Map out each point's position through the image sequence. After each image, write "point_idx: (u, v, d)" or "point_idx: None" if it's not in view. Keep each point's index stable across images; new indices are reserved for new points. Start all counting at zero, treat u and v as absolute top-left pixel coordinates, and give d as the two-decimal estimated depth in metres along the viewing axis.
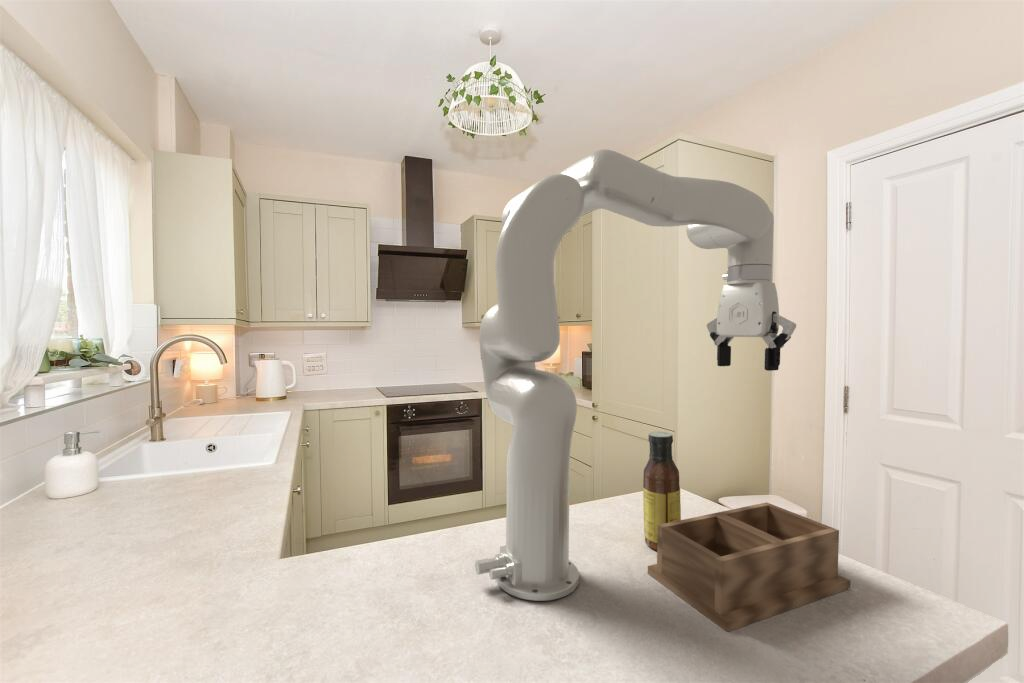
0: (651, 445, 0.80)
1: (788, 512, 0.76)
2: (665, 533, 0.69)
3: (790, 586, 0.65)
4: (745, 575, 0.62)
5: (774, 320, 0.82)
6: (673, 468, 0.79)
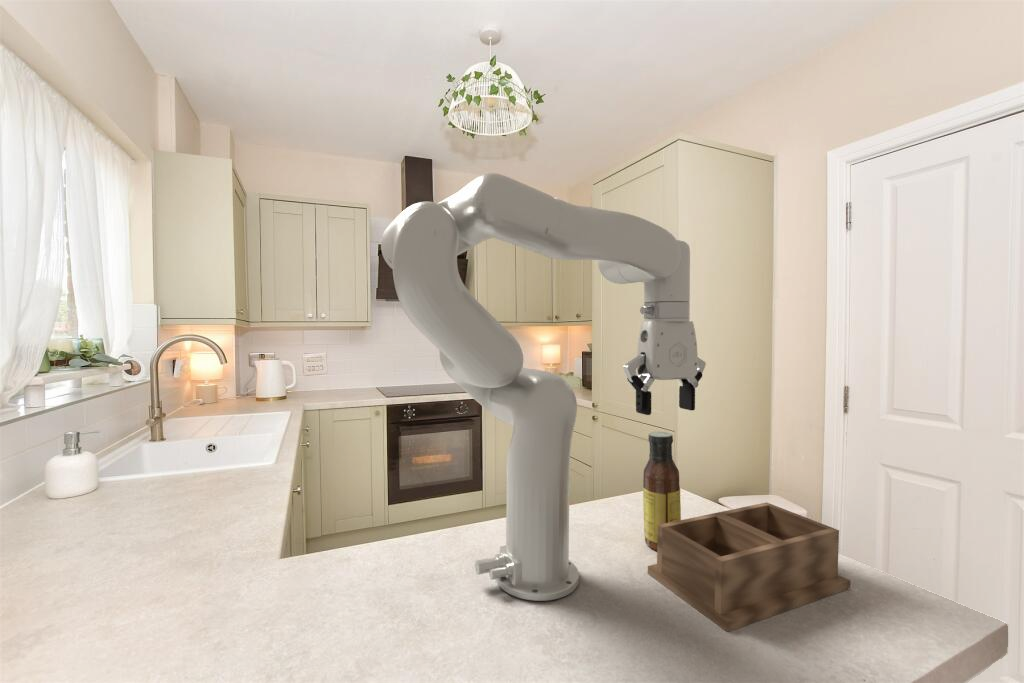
0: (651, 445, 0.81)
1: (788, 512, 0.76)
2: (665, 533, 0.69)
3: (790, 586, 0.65)
4: (745, 575, 0.62)
5: None
6: (673, 468, 0.79)
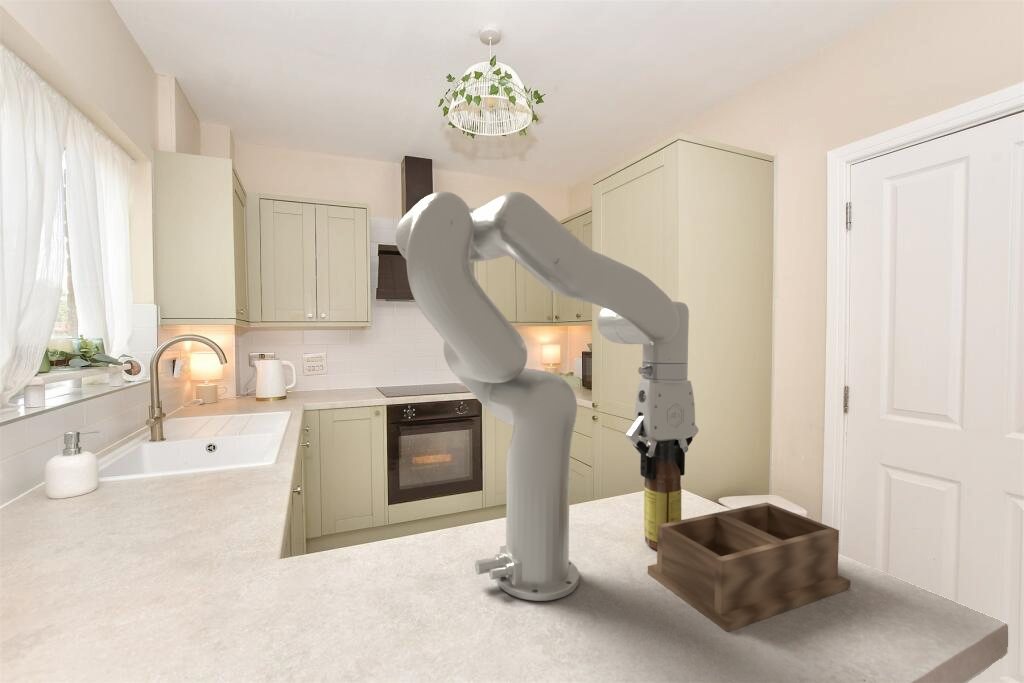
0: None
1: (788, 512, 0.76)
2: (665, 533, 0.69)
3: (790, 586, 0.65)
4: (745, 575, 0.62)
5: None
6: (675, 467, 0.79)
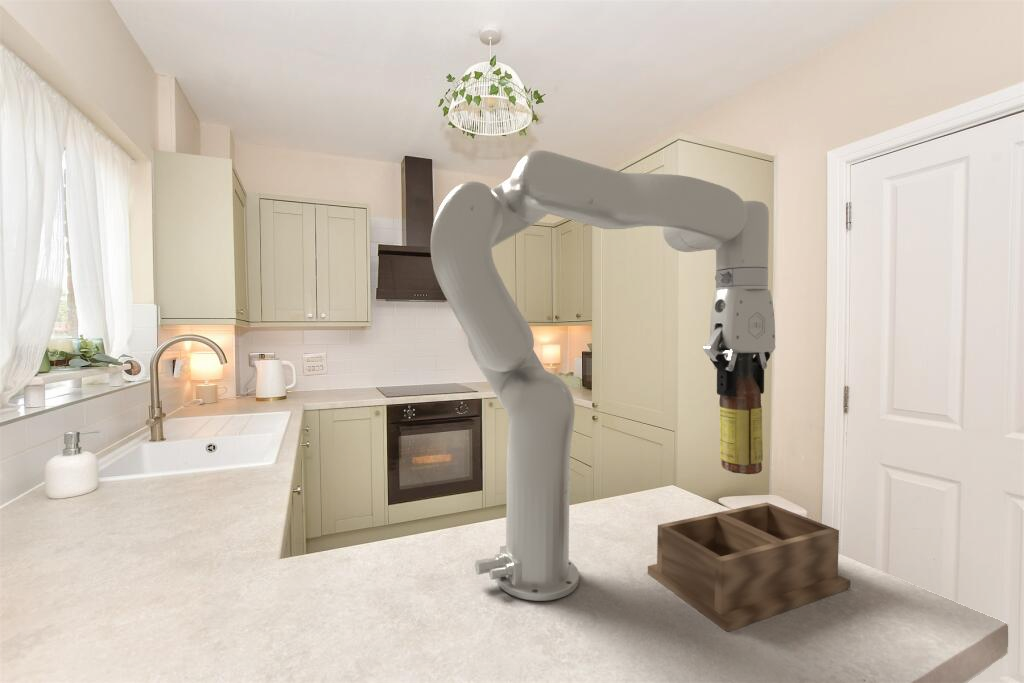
0: None
1: (788, 512, 0.76)
2: (665, 533, 0.69)
3: (790, 586, 0.65)
4: (745, 575, 0.62)
5: None
6: (755, 383, 0.73)
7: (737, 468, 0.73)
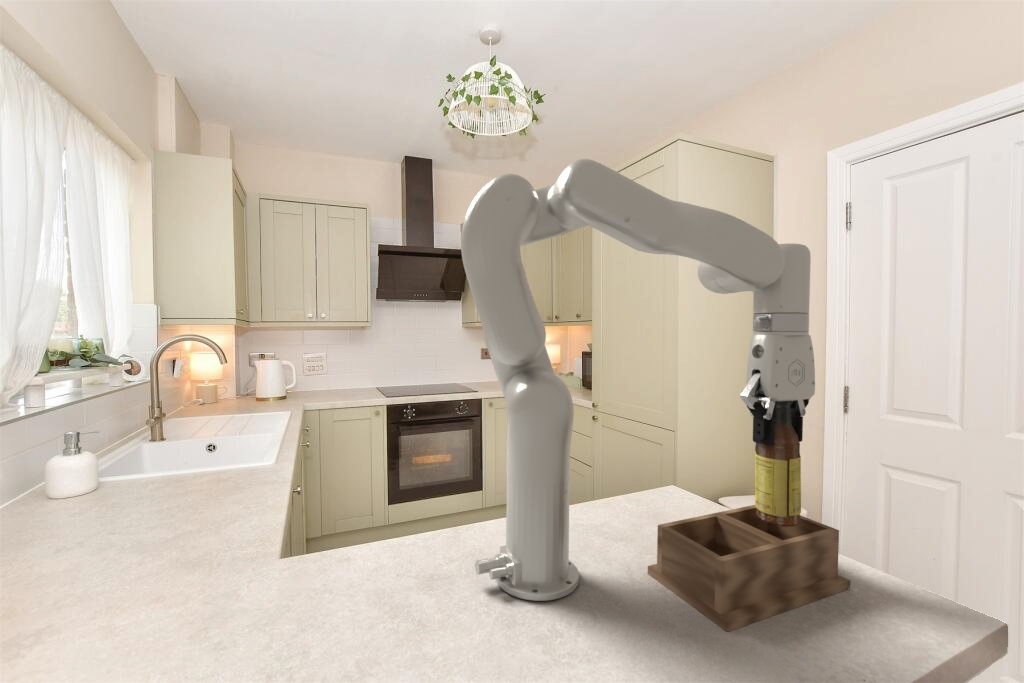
0: None
1: None
2: (665, 533, 0.69)
3: (790, 586, 0.65)
4: (745, 575, 0.62)
5: None
6: (794, 432, 0.70)
7: (774, 520, 0.70)
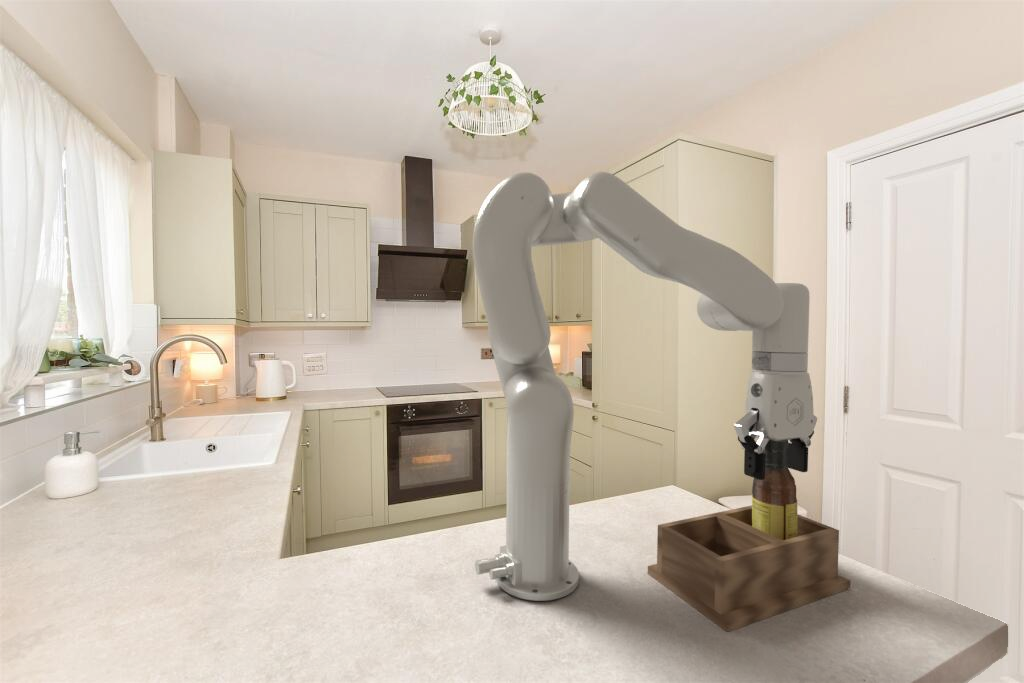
0: (763, 450, 0.72)
1: None
2: (665, 533, 0.69)
3: (790, 586, 0.65)
4: (745, 575, 0.62)
5: None
6: (790, 476, 0.71)
7: None
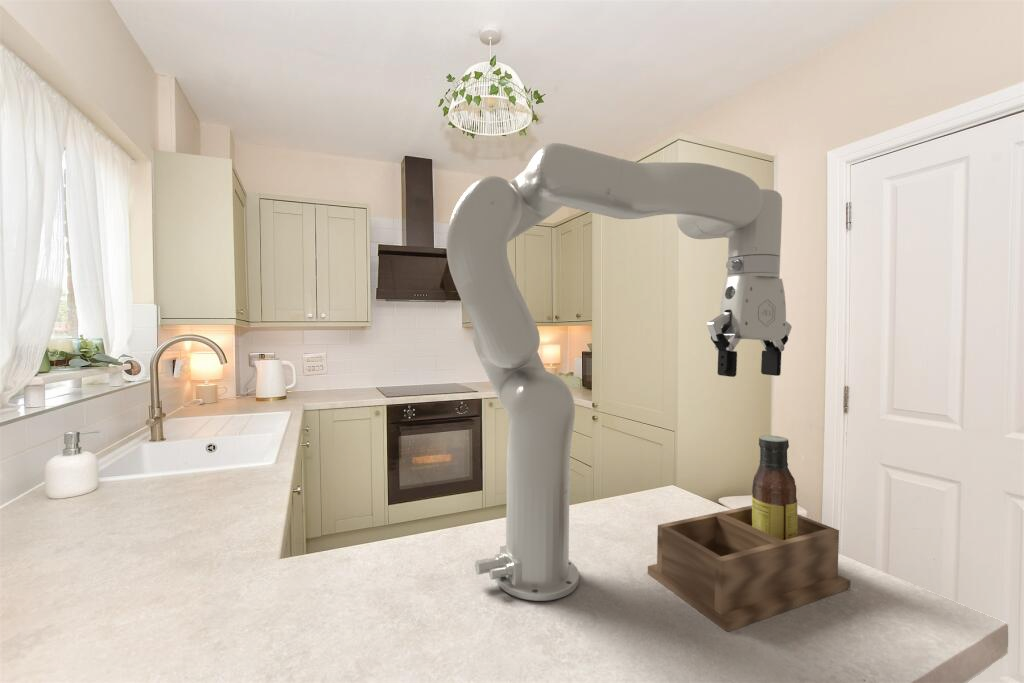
0: (763, 450, 0.72)
1: None
2: (665, 533, 0.69)
3: (790, 586, 0.65)
4: (745, 575, 0.62)
5: None
6: (790, 476, 0.71)
7: None
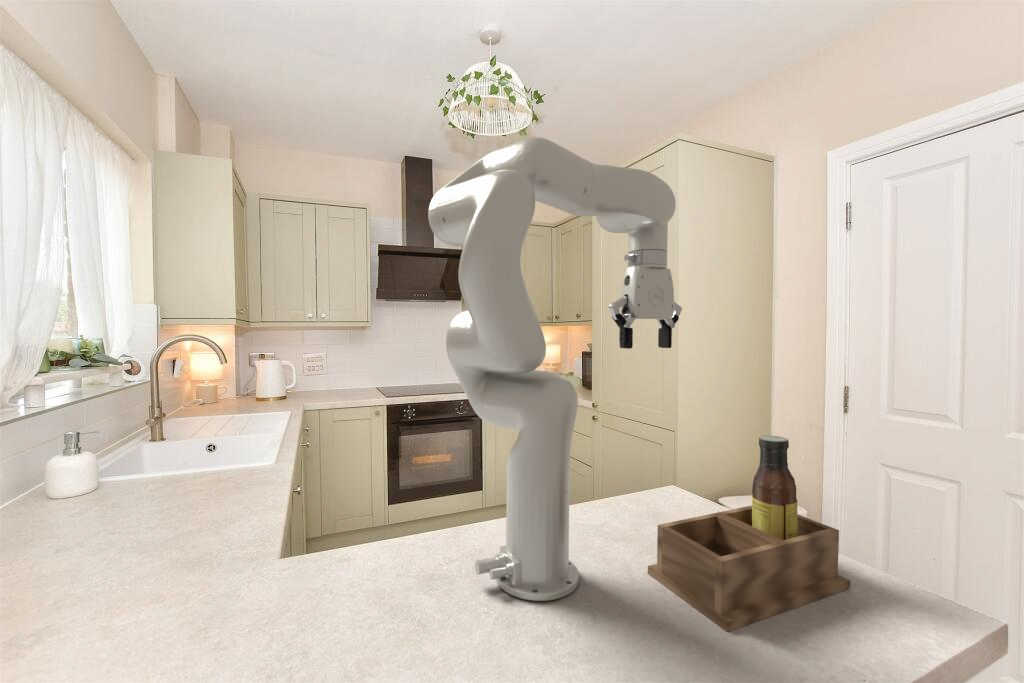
0: (763, 450, 0.72)
1: None
2: (665, 533, 0.69)
3: (790, 586, 0.65)
4: (745, 575, 0.62)
5: None
6: (790, 476, 0.71)
7: None
